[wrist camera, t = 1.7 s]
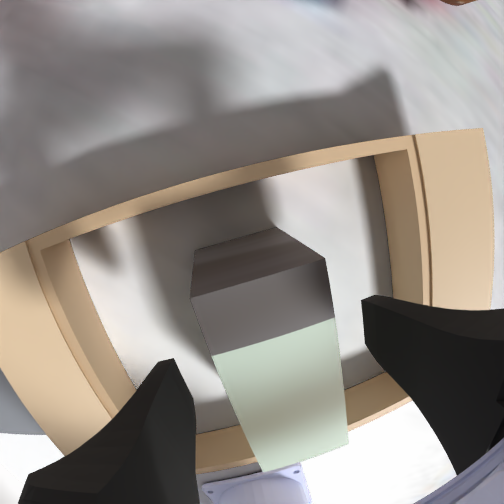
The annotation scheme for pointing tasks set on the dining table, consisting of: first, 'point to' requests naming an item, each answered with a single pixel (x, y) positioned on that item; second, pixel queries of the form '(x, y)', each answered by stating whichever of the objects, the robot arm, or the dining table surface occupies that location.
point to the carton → (384, 150)
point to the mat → (15, 412)
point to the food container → (457, 2)
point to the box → (273, 343)
